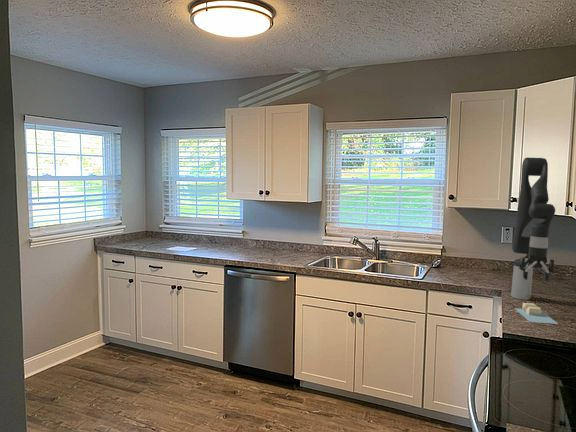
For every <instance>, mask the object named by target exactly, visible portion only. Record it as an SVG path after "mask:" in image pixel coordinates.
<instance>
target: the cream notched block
mask: <svg viewBox="0 0 576 432" xmlns="http://www.w3.org/2000/svg"><path fill="white" fill-rule="evenodd" d="M521 307H522V308H521V309H523V310H524V311H525V312H526V313H527V314H529V315H536V316H541V311H542V308H540V307H539V305H536V303H530V302H522V306H521Z"/></svg>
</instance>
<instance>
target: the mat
mask: <svg viewBox="0 0 576 432" xmlns="http://www.w3.org/2000/svg"><path fill="white" fill-rule="evenodd" d="M514 310H516V312H517V313H519V314H520V315H521V316H522V317H523V318H525V319H526V321H528V323H529V322H530V323H541V324H543V323H544V324H553V325H559V323H558V322H557V321H555V320H554V319H553V318H552V317H550V316H549V315H548V314H546V313H545V312H543V311H542V310H541V316H536V315H529V314H527V313H526V312H525V311H524V310H523V309H522V308H515V307H514Z"/></svg>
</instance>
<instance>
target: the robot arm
mask: <svg viewBox="0 0 576 432" xmlns="http://www.w3.org/2000/svg"><path fill="white" fill-rule="evenodd" d="M548 164H549V163H548V160H547V159H546V158H544V157H525V158H524V159H523V160H522V164H521V165H522V166H521V177H520V191H519V196H518V203H517V210H516V223H515V228H514V233H513V238H512V244H511V248H512V251H513V253H516V254H525V256H521V257H520V258H516V259H514V261H513V268H512V269H513V270H512V271H513V272H512V281H511V282H512V283H511V293H510V296H511V297H512V298H514V299H517V300H526V301H527V300H531V295H532V294H531V293H532V282H533V273H534V268H539V269H542V270H543V271H544V272H543V279H542V280H543V281H544V282H547V281H548V280H549V275H550V273H554V270H555V269H554V268H555V260H554V259H552V258H547V257H548V248H549V231H550V227H551V223H552V220H553V218H554V216H555V214H556V207H555V206H554V205H553V204H552V203H548V202H549V200H550V199H549V198H550V197H549V192H548V178H549V176H548V175H549V168H548V167H549V165H548ZM530 176H531V177H539V178H538V179H537V180H536V181H535V183H534V184H533V185H532V186H531V183H530V179H529V177H530ZM534 219H538V220H539V219H541V220H542V219H543V221H542V222H538V223H537V222H536V223H533V224H532V225H531V229H530V236H525V235H524V236H522V235H523V232H524V231H525V229H526V227H527V226H528V225H530V223H531V222H532V221H533V220H534ZM546 264H548V267H547V266H546Z"/></svg>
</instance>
